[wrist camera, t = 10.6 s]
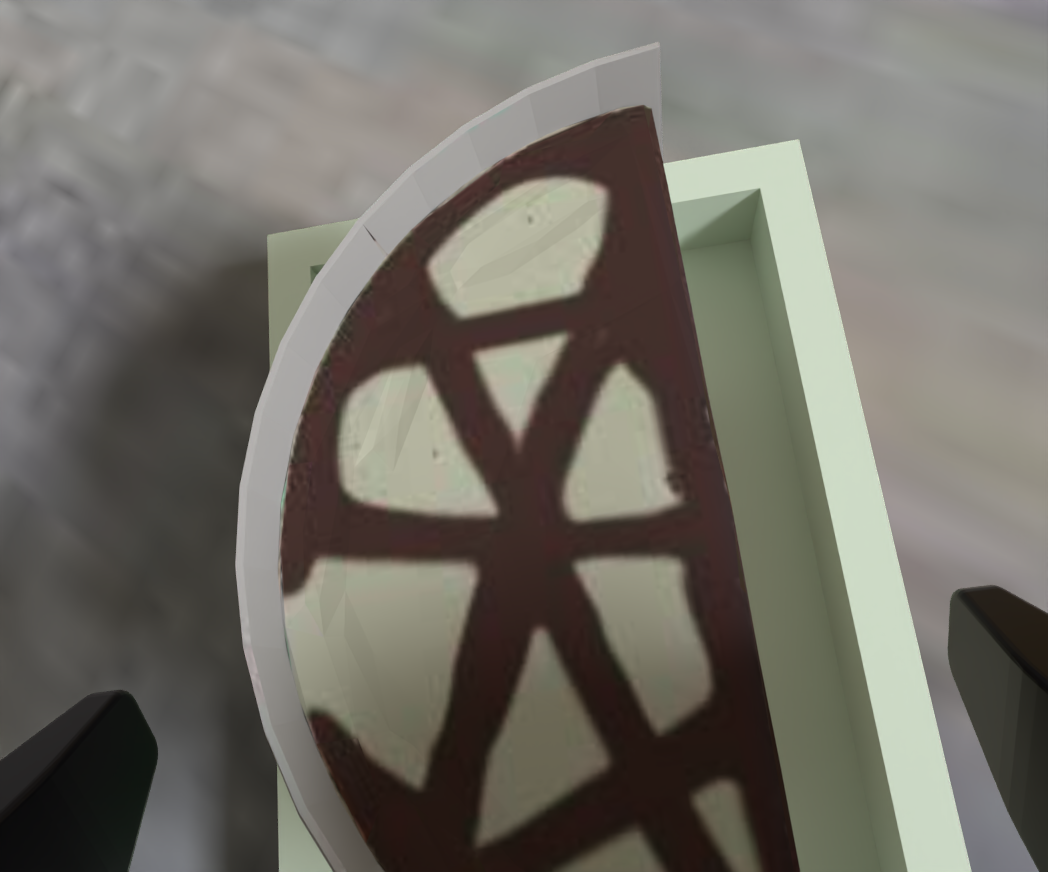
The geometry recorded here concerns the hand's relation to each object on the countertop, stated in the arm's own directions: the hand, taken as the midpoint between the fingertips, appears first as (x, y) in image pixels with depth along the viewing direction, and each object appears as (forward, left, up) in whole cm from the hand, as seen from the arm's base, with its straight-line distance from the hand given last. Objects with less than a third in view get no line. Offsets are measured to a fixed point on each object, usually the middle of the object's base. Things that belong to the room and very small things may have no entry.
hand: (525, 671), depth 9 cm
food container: (+1, +1, -9) cm, 10 cm away
